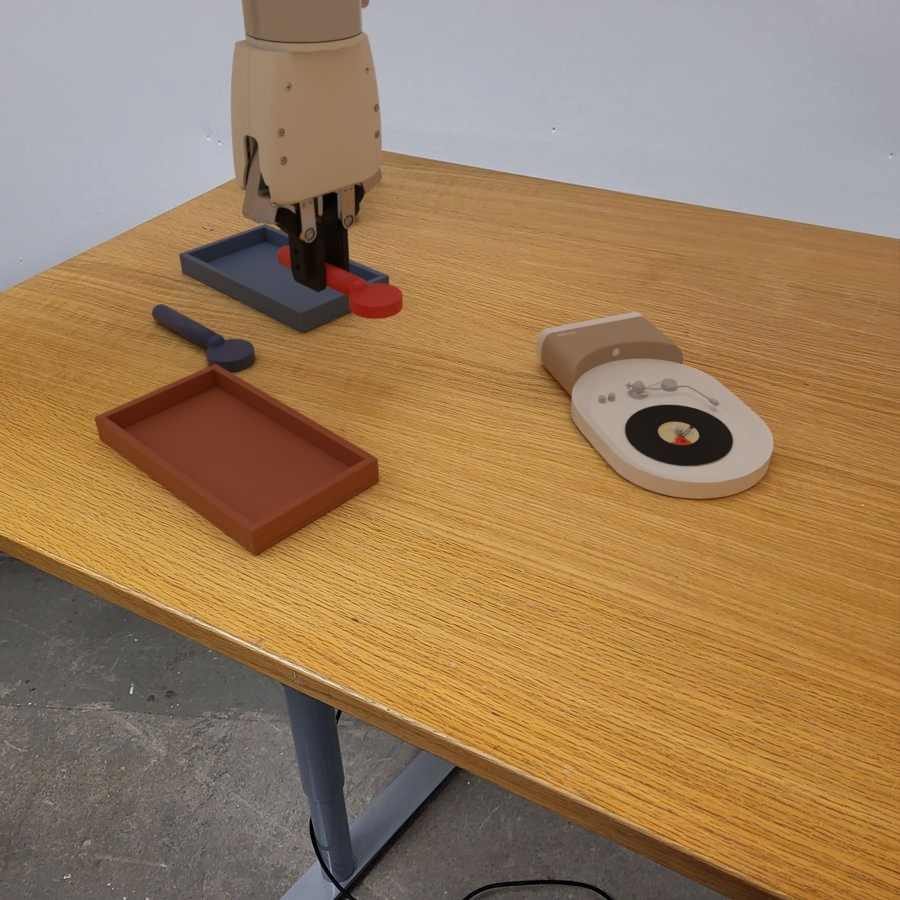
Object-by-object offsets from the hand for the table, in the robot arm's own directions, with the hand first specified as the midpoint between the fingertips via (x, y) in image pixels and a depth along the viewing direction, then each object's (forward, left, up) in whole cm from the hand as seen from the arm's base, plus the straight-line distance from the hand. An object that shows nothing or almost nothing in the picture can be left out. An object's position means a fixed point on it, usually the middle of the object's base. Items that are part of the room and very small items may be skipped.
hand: (321, 279), depth 70 cm
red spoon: (+2, 0, 0) cm, 2 cm away
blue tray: (-15, +7, -8) cm, 18 cm away
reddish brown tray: (+5, -13, -8) cm, 16 cm away
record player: (+23, +11, -8) cm, 27 cm away
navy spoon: (-11, -5, -8) cm, 14 cm away
